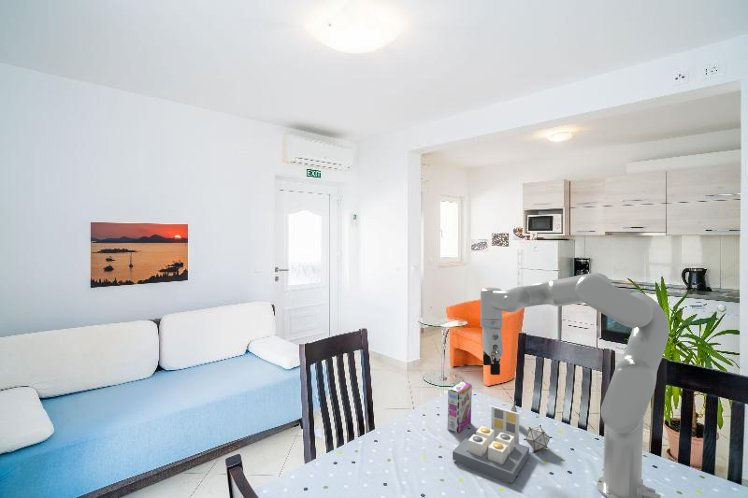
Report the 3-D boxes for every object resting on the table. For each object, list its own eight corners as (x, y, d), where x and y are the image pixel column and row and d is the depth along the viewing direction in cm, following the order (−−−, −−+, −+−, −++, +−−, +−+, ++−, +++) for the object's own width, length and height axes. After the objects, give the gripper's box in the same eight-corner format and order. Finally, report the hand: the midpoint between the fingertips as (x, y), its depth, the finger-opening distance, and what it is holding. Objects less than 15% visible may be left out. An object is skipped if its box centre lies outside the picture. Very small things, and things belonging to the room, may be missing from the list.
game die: (543, 461, 135) (556, 449, 129) (519, 451, 137) (531, 437, 131) (543, 438, 142) (556, 425, 136) (520, 428, 144) (532, 415, 138)
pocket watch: (493, 422, 156) (493, 398, 155) (508, 418, 159) (508, 395, 159) (507, 432, 148) (508, 407, 148) (523, 427, 152) (524, 402, 152)
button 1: (494, 443, 136) (494, 429, 136) (489, 449, 132) (489, 435, 132) (481, 439, 139) (481, 425, 139) (476, 445, 135) (476, 430, 135)
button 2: (486, 452, 130) (487, 437, 130) (481, 459, 126) (481, 443, 126) (473, 448, 133) (473, 433, 133) (467, 454, 129) (467, 439, 129)
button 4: (507, 460, 126) (507, 444, 126) (502, 467, 122) (502, 451, 122) (493, 455, 129) (493, 439, 129) (488, 461, 125) (488, 446, 125)
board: (529, 457, 132) (529, 447, 132) (512, 484, 117) (512, 473, 117) (473, 438, 144) (473, 429, 144) (452, 461, 130) (452, 451, 129)
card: (520, 443, 141) (521, 411, 140) (518, 446, 138) (518, 414, 138) (494, 434, 147) (494, 403, 146) (491, 437, 144) (491, 406, 144)
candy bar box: (458, 434, 147) (458, 392, 146) (447, 430, 150) (447, 389, 149) (472, 423, 155) (472, 383, 155) (460, 419, 159) (461, 380, 158)
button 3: (514, 450, 132) (514, 435, 131) (509, 457, 128) (509, 441, 128) (500, 445, 135) (500, 431, 134) (495, 452, 131) (495, 437, 130)
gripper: (509, 328, 128) (509, 378, 129) (494, 317, 145) (494, 361, 146) (487, 328, 128) (487, 378, 129) (475, 317, 146) (475, 361, 146)
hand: (491, 369), depth 137 cm, fingers open, 9 cm apart
